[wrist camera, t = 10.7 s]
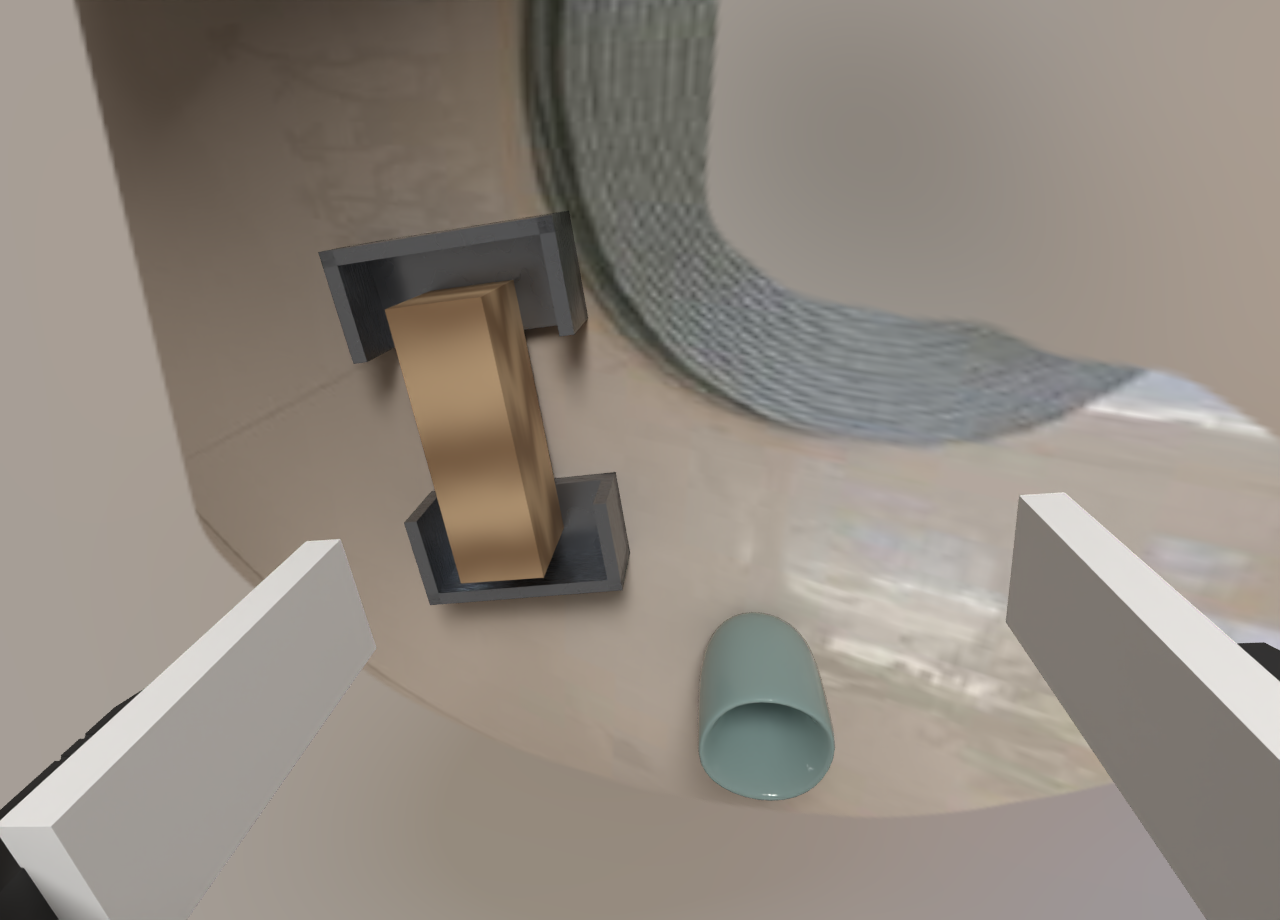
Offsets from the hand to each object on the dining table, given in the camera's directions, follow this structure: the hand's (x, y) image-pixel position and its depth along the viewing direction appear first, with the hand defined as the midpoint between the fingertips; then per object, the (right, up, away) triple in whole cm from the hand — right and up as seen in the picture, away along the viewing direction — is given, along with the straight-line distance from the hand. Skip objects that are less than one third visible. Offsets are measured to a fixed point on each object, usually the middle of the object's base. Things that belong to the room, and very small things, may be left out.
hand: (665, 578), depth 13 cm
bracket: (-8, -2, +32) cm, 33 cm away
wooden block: (-9, +5, +28) cm, 30 cm away
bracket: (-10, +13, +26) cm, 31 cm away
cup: (+8, -10, +34) cm, 37 cm away
